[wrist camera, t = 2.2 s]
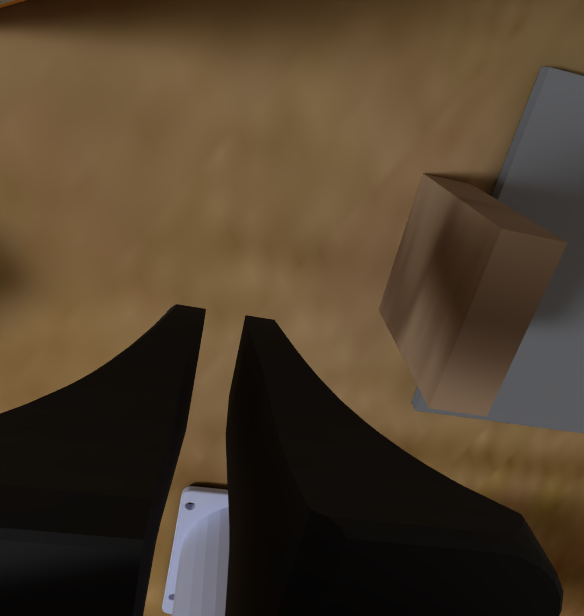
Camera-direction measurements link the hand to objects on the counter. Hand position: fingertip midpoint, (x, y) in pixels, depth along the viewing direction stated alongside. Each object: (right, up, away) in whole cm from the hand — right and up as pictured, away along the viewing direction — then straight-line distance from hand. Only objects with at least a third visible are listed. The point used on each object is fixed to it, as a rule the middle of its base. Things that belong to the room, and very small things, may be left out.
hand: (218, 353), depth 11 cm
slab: (+7, +3, +11) cm, 13 cm away
